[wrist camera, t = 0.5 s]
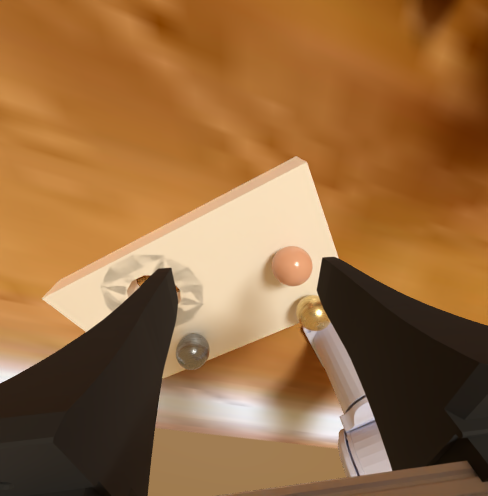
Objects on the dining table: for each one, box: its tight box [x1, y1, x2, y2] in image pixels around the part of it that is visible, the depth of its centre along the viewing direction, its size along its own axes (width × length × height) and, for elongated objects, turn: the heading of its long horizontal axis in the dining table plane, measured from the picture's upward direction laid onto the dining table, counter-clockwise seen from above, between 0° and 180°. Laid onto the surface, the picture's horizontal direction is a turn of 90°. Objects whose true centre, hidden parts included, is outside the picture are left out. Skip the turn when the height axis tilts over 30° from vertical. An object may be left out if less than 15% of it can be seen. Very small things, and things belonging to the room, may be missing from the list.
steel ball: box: [176, 333, 210, 370], centre depth 22 cm, size 3×3×3 cm
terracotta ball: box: [272, 246, 313, 286], centre depth 18 cm, size 3×3×3 cm
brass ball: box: [296, 295, 330, 331], centre depth 21 cm, size 3×3×3 cm
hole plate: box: [42, 156, 339, 379], centre depth 23 cm, size 15×24×2 cm, turn 116°
